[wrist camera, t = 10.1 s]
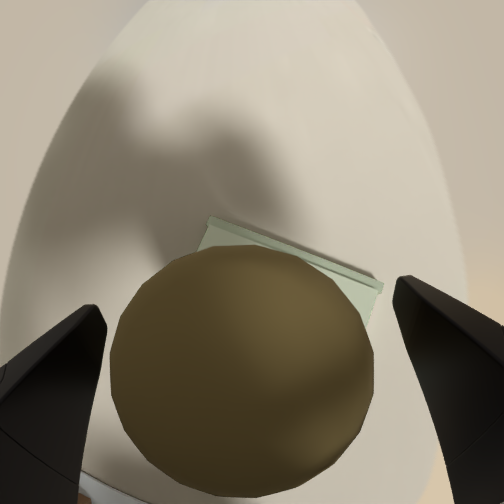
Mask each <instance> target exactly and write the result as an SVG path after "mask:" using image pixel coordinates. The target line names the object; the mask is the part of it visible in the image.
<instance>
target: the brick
mask: <svg viewBox="0 0 504 504" xmlns="http://www.w3.org/2000/svg"><path fill="white" fill-rule="evenodd" d="M77 504H92V502H91V498H88V497H86V496H84V495H83V494H81V493H79V492H78V503H77Z"/></svg>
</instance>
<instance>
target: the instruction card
mask: <svg viewBox="0 0 504 504" xmlns="http://www.w3.org/2000/svg"><path fill="white" fill-rule="evenodd" d="M79 493H81V494H83V495H84V496H86V497H88V498H91V502H92V504H148V503H146V502H143V501H141V500H138V499H136V498H134V497H131V496H129V495H127V494H125V493H123V492H121V491H118V490H116V489H114V488H112V487H110V486H108V485H106V484H104V483H102V482H101V481H99V480H97V479H95V478H93V477H91V476H89V475H88V474H86V473H84V472H82V471H81V474H80V482H79Z"/></svg>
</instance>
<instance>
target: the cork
mask: <svg viewBox="0 0 504 504" xmlns="http://www.w3.org/2000/svg"><path fill="white" fill-rule="evenodd" d="M110 381H111V396H112V399H113V401H114V404H115V407H116V410H117V413H118V415H119V418H120V421H121V423H122V426H123V428H124V431H125V432H126V433H127V435H128V436H129V437H130V439H131V440H132V441H133V443H134V444H135V445H136V447H137V448H138V449H139V450H140V452H141V453H142V454H143V456H144V457H145V458H146V459H147V460H148V461H149V462H150V463H151V464H153V465H154V466H155V467H157V468H158V469H160V470H161V471H162V472H164V473H165V474H166V475H168V476H169V477H171V478H172V479H174V480H175V481H177V482H178V483H180V484H183V485H185V486H188V487H191V488H193V489H196V490H199V491H202V492H205V493H208V494H211V495H215V496H222V497H241V498H258V497H262V496H266V495H271V494H274V493H278V492H282V491H286V490H289V489H293V488H296V487H298V486H300V485H302V484H304V483H305V482H307V481H309V480H310V479H312V478H313V477H315V476H317V475H318V474H320V473H321V472H323V471H324V470H326V469H327V468H329V467H330V466H332V465H333V464H334V463H335V462H336V461H337V460H338V459H339V458H340V456H341V455H342V454H343V453H344V451H345V450H346V449H347V448H348V447H349V445H350V444H351V443H352V441H353V440H354V439H355V438H356V436H357V435H358V434H359V432H360V430H361V428H362V425H363V422H364V420H365V417H366V414H367V411H368V408H369V406H370V403H371V400H372V397H373V394H374V352H373V349H372V346H371V344H370V341H369V338H368V335H367V332H366V329H365V326H364V324H363V321H362V318H361V316H360V313H359V312H358V310H357V309H356V308H355V307H354V305H353V304H352V303H351V302H350V300H349V299H348V298H347V296H346V295H345V294H344V293H343V291H342V290H341V289H340V288H339V286H338V285H337V284H336V283H335V282H334V280H333V279H331V278H330V277H328V276H327V275H325V274H324V273H322V272H321V271H319V270H317V269H316V268H314V267H313V266H311V265H310V264H308V263H307V262H305V261H304V260H302V259H301V258H299V257H298V256H295V255H291V254H288V253H284V252H280V251H277V250H273V249H269V248H266V247H262V246H258V245H231V246H212V247H209V248H206V249H203V250H201V251H198V252H195V253H192V254H189V255H187V256H184V257H181V258H178V259H176V260H173V261H172V262H171V263H169V264H168V265H167V266H166V267H164V268H163V269H162V270H160V271H159V272H158V273H156V274H155V275H154V276H152V277H151V278H150V279H149V280H147V281H146V282H145V283H143V284H142V286H141V287H140V288H139V290H138V291H137V293H136V294H135V296H134V297H133V299H132V300H131V301H130V303H129V304H128V306H127V307H126V309H125V310H124V312H123V313H122V315H121V316H120V319H119V323H118V326H117V330H116V333H115V336H114V340H113V344H112V347H111V351H110Z"/></svg>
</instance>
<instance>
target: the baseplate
mask: <svg viewBox="0 0 504 504" xmlns="http://www.w3.org/2000/svg"><path fill="white" fill-rule="evenodd" d="M206 226H207V227H208V228H207V230H206V233H205V235H204V237H203V239H202V241H201V243H200V245H199V247H198V249H197V251H196V252H198V251H201V250H203V249H206V248H209V247H212V246H231V245H258V246H262V247H266V248H269V249H273V250H277V251H280V252H284V253H288V254H291V255H295V256H298V257H299V258H301V259H302V260H304V261H305V262H307V263H308V264H310V265H311V266H313V267H314V268H316V269H317V270H319V271H321V272H322V273H324V274H325V275H327V276H328V277H330V278H331V279H333V280H334V282H335V283H336V284H337V285H338V286H339V288H340V289H341V290H342V291H343V293H344V294H345V295H346V296H347V298H348V299H349V300H350V302H351V303H352V304H353V305H354V307H355V308H356V309H357V310H358V312H359V313H360V316H361V318H362V321H363V324H364V326H365V329H366V327H367V324H368V321H369V318H370V315H371V312H372V309H373V306H374V303H375V300H376V297H377V295H378V294H381V293H382V289H383V286H384V283H382V282H380V281H377V280H375V279H373V278H370V277H368V276H365V275H363V274H360V273H358V272H355V271H353V270H350V269H348V268H345V267H343V266H340V265H338V264H335V263H333V262H330V261H328V260H325V259H323V258H320V257H318V256H315V255H312V254H310V253H307V252H305V251H302V250H300V249H297V248H295V247H292V246H289V245H287V244H284V243H282V242H279V241H277V240H274V239H271V238H269V237H266V236H264V235H261V234H258V233H256V232H253V231H250V230H248V229H245V228H243V227H240V226H237V225H235V224H232V223H229V222H227V221H224V220H221V219H219V218H216V217H213V216H211V215H210V217H209V219H208V221H207V223H206Z"/></svg>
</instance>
